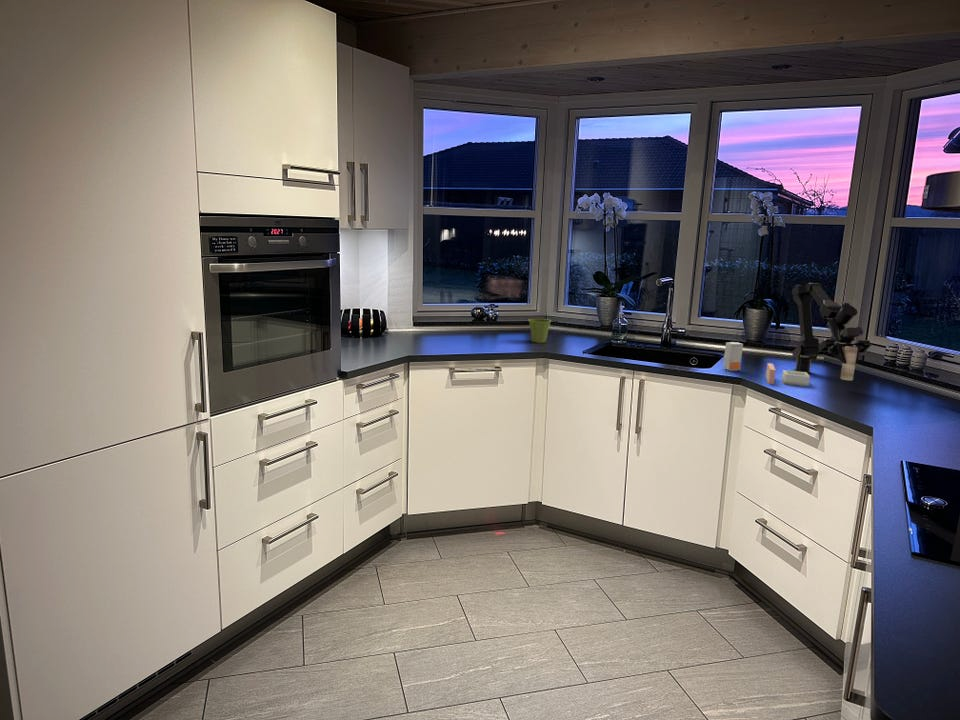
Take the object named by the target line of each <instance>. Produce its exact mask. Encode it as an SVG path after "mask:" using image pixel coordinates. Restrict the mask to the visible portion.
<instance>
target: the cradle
mask: <svg viewBox="0 0 960 720" xmlns="http://www.w3.org/2000/svg"><path fill="white" fill-rule="evenodd" d="M781 377H782V378H781V380H782V383H783V384H784V385H790V386H798V387H800V386H801V387H809V386H810V380H811V379H810V378H811V377H810V374H809V373H807V372H797V371H794V370H788V369H787V370H786V369H785V370H784V369H782V375H781Z"/></svg>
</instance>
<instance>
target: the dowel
mask: <svg viewBox="0 0 960 720" xmlns="http://www.w3.org/2000/svg"><path fill="white" fill-rule="evenodd" d="M857 351H858V347H854V346H845V348H844V350H843V353H844V356H845V359H846V364H844V363H842V366H841V370H840V380H843V381H853V380H854V375H855V368H856V364H855V363H856V357H857Z"/></svg>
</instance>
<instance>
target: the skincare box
mask: <svg viewBox="0 0 960 720" xmlns="http://www.w3.org/2000/svg"><path fill="white" fill-rule="evenodd" d="M743 348H744V343H740V342H738V341H737V342H736V341H735V342H734V341H730V342H727V341H726V342H725V348H724V356H723V363H722V364H723V365H722V369H723V370H725V369H727V370H726V371H728V370H729V371H738V370H739V371H740V370H741V363H742V357H743V356H742V355H743V350H744V349H743Z"/></svg>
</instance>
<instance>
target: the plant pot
mask: <svg viewBox="0 0 960 720" xmlns="http://www.w3.org/2000/svg"><path fill="white" fill-rule="evenodd" d="M527 321H528V323H529V328H530V329H529V330H530V337H531V342H532V343H538V344H540V343H542V344H543V343H546V342H547V337H548V333H549V328H550V325H551V322H552V320H551V319H545V318H529V319H528V320H527Z"/></svg>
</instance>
